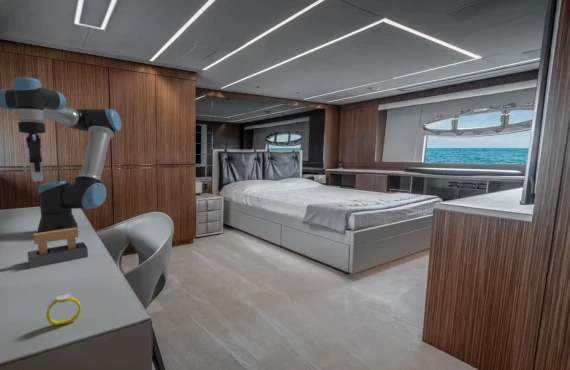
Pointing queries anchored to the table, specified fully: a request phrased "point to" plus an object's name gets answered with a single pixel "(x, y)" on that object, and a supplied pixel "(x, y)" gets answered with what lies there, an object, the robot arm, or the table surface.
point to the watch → (59, 300)
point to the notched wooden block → (55, 238)
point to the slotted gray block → (57, 255)
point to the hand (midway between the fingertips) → (37, 179)
